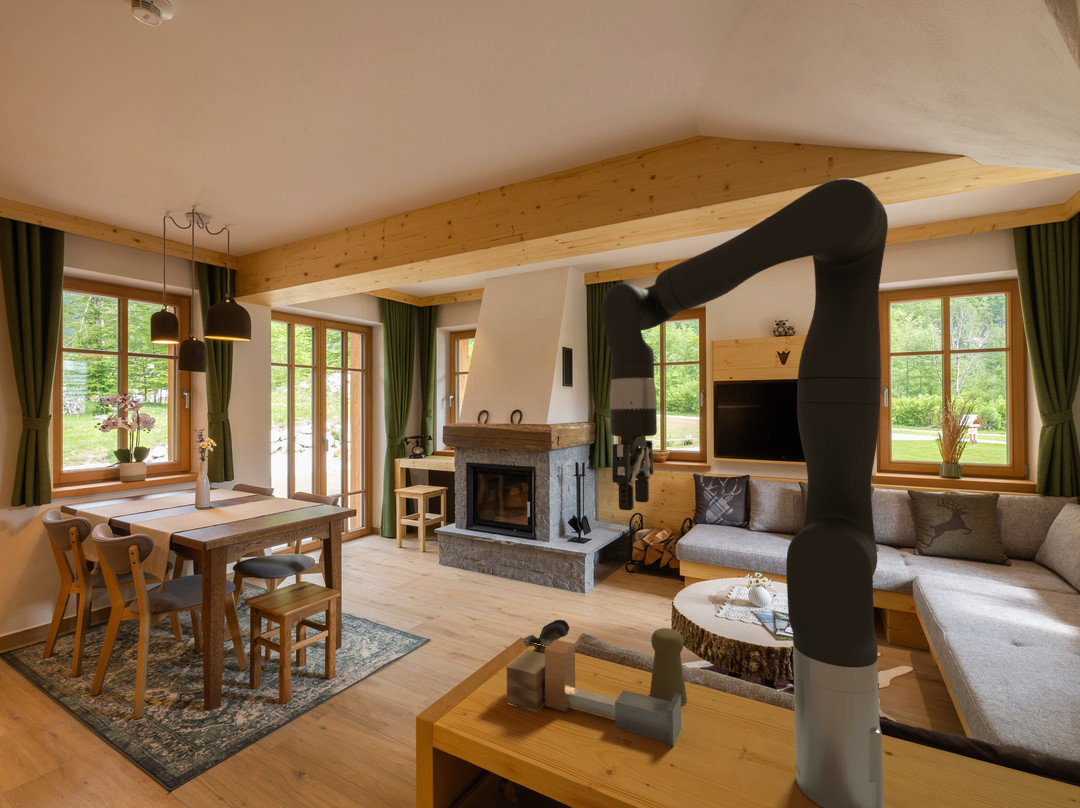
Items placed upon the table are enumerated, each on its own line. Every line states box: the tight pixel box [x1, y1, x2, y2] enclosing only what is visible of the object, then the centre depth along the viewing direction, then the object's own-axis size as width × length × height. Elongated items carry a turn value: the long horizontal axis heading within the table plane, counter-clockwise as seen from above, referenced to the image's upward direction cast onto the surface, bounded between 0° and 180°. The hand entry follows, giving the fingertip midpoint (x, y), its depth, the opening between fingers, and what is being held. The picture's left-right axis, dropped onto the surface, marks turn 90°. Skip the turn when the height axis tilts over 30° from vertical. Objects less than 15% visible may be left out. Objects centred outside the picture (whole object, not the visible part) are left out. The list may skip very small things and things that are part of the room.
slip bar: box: [542, 639, 617, 720], centre depth 84 cm, size 18×4×9 cm, turn 62°
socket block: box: [506, 649, 545, 713], centre depth 88 cm, size 6×7×6 cm
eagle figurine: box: [522, 619, 571, 654], centre depth 103 cm, size 8×7×9 cm
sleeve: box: [614, 689, 682, 748], centre depth 78 cm, size 9×5×5 cm, turn 62°
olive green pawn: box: [649, 627, 688, 708], centre depth 87 cm, size 6×6×11 cm
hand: (634, 505), depth 86 cm, fingers open, 8 cm apart
